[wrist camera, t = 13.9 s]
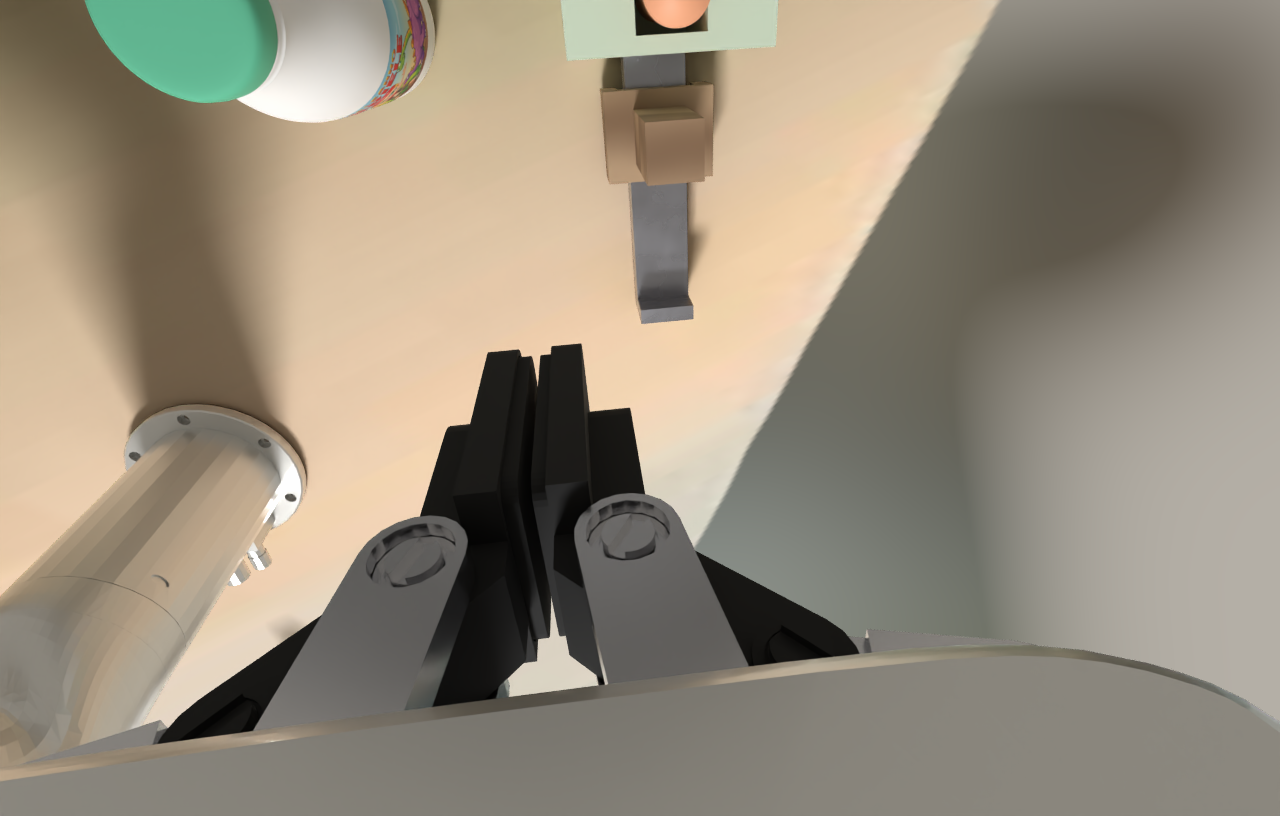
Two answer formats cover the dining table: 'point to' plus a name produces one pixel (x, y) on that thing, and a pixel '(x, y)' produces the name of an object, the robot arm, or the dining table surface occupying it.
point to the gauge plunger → (672, 11)
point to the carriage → (658, 133)
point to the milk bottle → (274, 51)
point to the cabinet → (664, 29)
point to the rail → (658, 213)
